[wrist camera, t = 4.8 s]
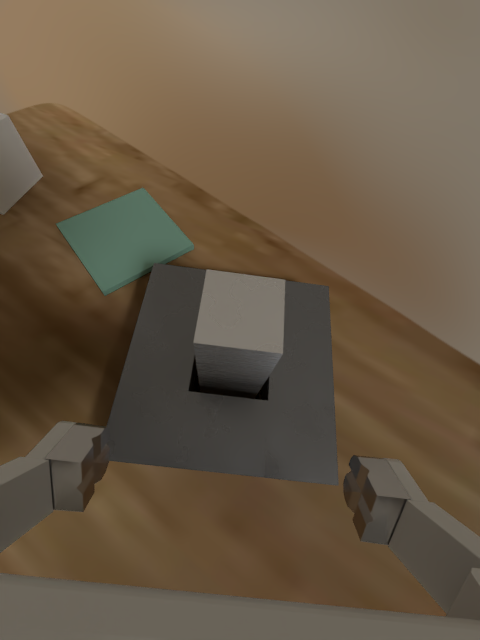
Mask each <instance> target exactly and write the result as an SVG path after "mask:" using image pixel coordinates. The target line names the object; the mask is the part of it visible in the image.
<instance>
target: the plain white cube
mask: <svg viewBox="0 0 480 640" xmlns="http://www.w3.org/2000/svg"><path fill="white" fill-rule="evenodd" d="M42 177H43V175H42V173H41V172H40V170H39V168H38V166H37V165H36V163H35V161H34V159H33V158H32V156H31V154H30V153H29V151H28V149H27V147H26V146H25V144H24V142H23V140H22V139H21V137H20V135H19V133H18V132H17V130H16V128H15V126H14V125H13V123H12V121H11V119H10V118H9V116H8V115H6V114H2V113H0V214H3V215H4V214H5V213H6V212H7V211H8V210H9V209H10V208H11V207H12V206H13V205H14V204H15V203H16V202H17V201H18V200H19V199H20V198H21V197H22V196H23V195H24V194H25V193H26V192H27V191H28V190H29V189H30V188H31V187H32V186H34V185H35V184H36V183H37V182H38V181H39V180H40V179H41V178H42Z"/></svg>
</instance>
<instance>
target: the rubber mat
mask: <svg viewBox="0 0 480 640" xmlns="http://www.w3.org/2000/svg"><path fill="white" fill-rule="evenodd" d="M56 225H57V227H58V228H59V230H60V231H61V233H62V234H63V235H64V237H65V238H66V240H67V241H68V243H69V244H70V246H71V247H72V249H73V250H74V252H75V253H76V254H77V256H78V257H79V259H80V260H81V262H82V263H83V265H84V266H85V268H86V269H87V271H88V272H89V273H90V275H91V276H92V278H93V279H94V281H95V282H96V284H97V285H98V287H99V288H100V289H101V291H102V292H103V294H104V295H105V296H106V295H107V294H109V293H111V292H113V291H115V290H117V289H119V288H121V287H123V286H124V285H126V284H128V283H130V282H132V281H134V280H136V279H138V278H140V277H142V276H143V275H145V274H147V273H149V272H151V271H152V268H153V265H154V263H158V264H166V263H168V262H170V261H172V260H174V259H176V258H177V257H179V256H181V255H183V254H185V253H187V252H189V251H191V250H193V249H194V245H193V243H192V242H191V241H190V240H189V239H188V238H187V237H186V235H185V234H184V233H183V232H182V231H181V230H180V229H179V228H178V226H177V225H176V224H175V223H174V222H173V221H172V220H171V218H170V217H169V216H168V215H167V214H166V213H165V212H164V211H163V209H162V208H161V207H160V206H159V205H158V204H157V203H156V201H155V200H154V199H153V198H152V197H151V196H150V195H149V194H148V192H147V191H146V190H145V189H144V188H141V189H139V190H137V191H134V192H132V193H129V194H127V195H124V196H122V197H120V198H117V199H115V200H112V201H110V202H108V203H105V204H103V205H100V206H98V207H95V208H93V209H91V210H88V211H86V212H83V213H81V214H78V215H76V216H74V217H71V218H69V219H66V220H64V221H62V222H59V223H57V224H56Z"/></svg>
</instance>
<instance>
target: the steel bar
mask: <svg viewBox="0 0 480 640" xmlns="http://www.w3.org/2000/svg"><path fill="white" fill-rule="evenodd" d="M284 306H285V280H283V279H276V278H268V277H261V276H253V275H246V274H238V273H231V272H223V271H216V270H208V269H207V271H206V276H205V282H204V287H203V292H202V298H201V303H200V309H199V314H198V320H197V325H196V330H195V336H194V341H193V344H194V352H195V359H196V366H197V373H198V380H199V387H200V393H207V394H216V395H224V396H233V397H241V398H250V399H254V398H255V397H256V395H257V394H258V392H259V391H260V389H261V387H262V386H263V384H264V383H265V381H266V380H267V378H268V377H269V375H270V373H271V372H272V370H273V369H274V367H275V366H276V364H277V362H278V361H279V359H280V358H281V356H282V355H283V338H284Z"/></svg>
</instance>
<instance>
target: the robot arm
mask: <svg viewBox="0 0 480 640" xmlns="http://www.w3.org/2000/svg"><path fill="white" fill-rule="evenodd" d="M109 438H110V429H109V428H108V427H106V426H99V425H92V424H85V423H75V422H68V421H60V422H58V423H57V424H56V425H55V426H54V427H53V428H52V429H51V430H50V431H49V432H48V433H47V434H46V436H45V437H44V438H43V439H42V440H41V441H40V442H39V443H38V444H37V445H36V446H35V447H34V448H33V449H32V450H31V451H30V452H29V453H28V455H27V456H26V457H18V458H16V459H14V460H12V461H10V462H8V463H5V464H3V465H1V466H0V553H1V552H2V551H3V550H4V549H6V548H7V547H8V546H10V545H11V544H12V543H13V542H15V541H16V540H17V539H19V538H20V537H21V536H22V535H24V534H25V533H26V532H28V531H29V530H30V529H31V528H33V527H34V526H35V525H37V524H38V523H39V522H40V521H42V520H43V519H44V518H46V517H47V516H48V515H49V514H51V513H52V512H53V510H65V511H78V512H83V511H84V510H85V508H86V506H87V504H88V503H89V501H90V499H91V497H92V495H93V494H94V484H95V483H97V482H98V481H100V480H101V479H102V477H103V476H104V474H105V472H106V469H107V466H108V463H109V458H110V448H109V446H108V445H107V444H106V443H107V441H108V440H109ZM349 466H350V468H351V471H350V472H349V473H347V474H346V476H345V479H344V491H343V492H344V497H345V501H346V504H347V506H348V507H349V508H350V509H351V510H352V511H353V512H354V513H355V514H354V517H353V523H354V525H355V528H356V530H357V533H358V536H359V538H360V541H363V542H370V543H377V544H384V545H388V547H389V548H390V549H391V550H392V552H393V553H394V554H395V555H396V556H397V557H398V559H399V560H400V561H401V562H402V563H403V564H404V565H405V567H406V568H407V569H408V570H409V571H410V572H411V573H412V575H413V576H414V577H415V578H416V579H417V580H418V581H419V583H420V584H421V585H422V586H423V587H424V588H425V590H426V591H427V592H428V593H429V594H430V595H431V596H432V598H433V599H434V600H435V601H436V602H437V603H438V604H439V606H440V607H441V608H442V609H443V610H444V611H445V613H446V616H445V617H443V616H433V615H423V614H413V613H402V612H392V611H382V610H372V609H361V608H351V607H341V606H330V605H320V604H309V603H299V602H289V601H278V600H268V599H258V598H248V597H238V596H228V595H218V594H207V593H197V592H187V591H177V590H167V589H157V588H147V587H137V586H126V585H116V584H106V583H96V582H86V581H76V580H65V579H55V578H45V577H35V576H25V575H14V574H4V573H0V640H480V537H479V536H478V535H476V534H475V533H474V532H472V531H471V530H470V529H468V528H467V527H466V526H464V525H463V524H462V523H460V522H459V521H458V520H456V519H455V518H454V517H452V516H451V515H450V514H448V513H447V512H446V511H444V510H443V509H442V508H440V507H439V506H438V505H436V504H435V503H432V502H429V501H428V500H427V498H426V497H425V496H424V494H423V493H422V491H421V490H420V488H419V487H418V485H417V484H416V482H415V481H414V479H413V478H412V476H411V475H410V473H409V472H408V471H407V469H406V468H405V466H404V465H403V463H402V462H401V461H399V460H398V459H388V458H375V457H366V456H357V455H353V457H352V458H351V460H350V463H349Z"/></svg>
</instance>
